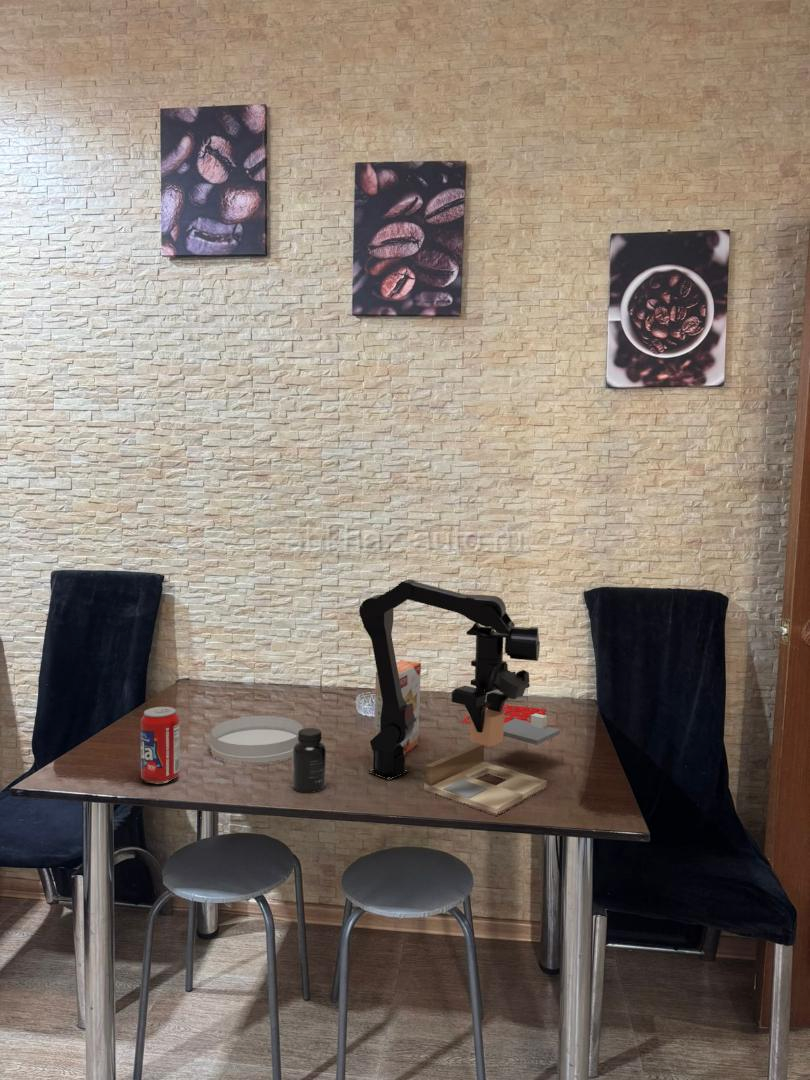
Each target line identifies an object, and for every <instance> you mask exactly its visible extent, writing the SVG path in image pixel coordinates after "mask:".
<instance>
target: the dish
mask: <svg viewBox="0 0 810 1080" xmlns="http://www.w3.org/2000/svg"><path fill="white" fill-rule="evenodd" d="M301 729H304V725H303V724H301V723H300V721H297V720H295V719H292V718H288V717H285V716H275V715H250V716H242V717H237V718H232V719H228V720H225V721H223V722H221V723H218V724H216V725H215V726H214V727H212V729H211V731H210V735H211V736H210V737H211V738H210V739H211V740H210V745H209V747H210V748H211V750H212V752H213V753H215V754H217V755H218V756H221V757H223V758H227V759H230V760H237V761H248V762H268V761H276V760H281V759H285V758H288V757H291V756H293V748H294V746H295V745H296V744H297V743H298V742H299V741H298V732H299V731H300V730H301Z"/></svg>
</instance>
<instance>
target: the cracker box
mask: <svg viewBox="0 0 810 1080" xmlns="http://www.w3.org/2000/svg"><path fill="white" fill-rule="evenodd" d="M396 664H397V669H398V675H399V681H400V686H401V692H402V697H403V699H404V700H405V702H406V704H411V703H413V713H414V716H415V718H416V721H415V722H414V728H413V730H412V731H411V733H410V734H409V735H408V736H407V737H406V738H405V739H404V741H402V742H401V743H400V744H401V746H403V747H404V754H405V753H406V752H408V751H409V750H411V749H412V748H413V747H415V746H416V745H417V744H418V745H419V729H420V725H419V724H420V703H421V702H420V700H421V698H420V697H421V678H422V677H421V675H422V674H421V671H422V669H421V668H422V663H421V662H418V661H410V660H399V661H396ZM374 685H375V691H374V720H373V721H374V726H373V738H374V737H375V736H376V735H377V734H378V733H379V732H380V717H381V710H382V696H381V691H380V685H379V679H378V674H377V671H375V684H374ZM416 747H417V746H416ZM416 747H415V748H416ZM412 750H413V749H412ZM412 750H411V751H412ZM409 752H410V751H409ZM409 752H408V753H409ZM405 755H406V754H405Z"/></svg>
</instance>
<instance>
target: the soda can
mask: <svg viewBox="0 0 810 1080" xmlns="http://www.w3.org/2000/svg"><path fill="white" fill-rule="evenodd" d="M177 713H178V712H177V710H176V708H174V707H171V706H156V707H151V708H148V709H145V710H144V711H143V716H142V717H141V718H140V779H141V778H142V779H144V780H147V781H166V780H171V779H173V778H175V777H177V776H178V775H179V776H180V771H181V770H180V765H181V764H180V761H181V760H180V753H181V752H180V751H181V750H180V716H179V715H178V714H177ZM179 776H178V777H179ZM178 777H177V778H178ZM142 779H141V780H142Z"/></svg>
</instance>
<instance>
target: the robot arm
mask: <svg viewBox="0 0 810 1080" xmlns="http://www.w3.org/2000/svg"><path fill="white" fill-rule="evenodd" d="M406 601H412V602H416V603H419V604H424V605H427V606H431V607H435V608H439V609H442V610H446V611H450V612H454V613H457V614H459V615H462V616H464V618H467V619H468V620H470V621H472V622H473V623H474V624H473V625H472V626H471V628H469V629H468V630H467V631H466V635H468V636H475V659H474V660H471V661H470V663H471V664H470V665H471V667H474V678H472V679H471V680H470V686H469V685H462V686H459V687H456V688H455V689H453V690H452V691H451V702H452V703H456V704H459V705H462V706H464V707H465V709H466V710H467V713H469V714H470V720H471V719H472V721H473V723H474V726H475V728H476V730H477V732H480V733H481V732H482V731H483V726H484V718H485V710H486V708H488V709H489V710H493V711H497V712H501V711H502V709H503V706H504V705H506V704H505V703H506V702H507V701H508V700H509V699H510V700H516V699H517V698H520V697H523V696H524V694H525V691H526V689H528V688H530V686H531V683H530V673H529V672H528V671H527V670H525V669H522V670H519V671H518V672H516V671H510V670H509V667H508V665H509V664H508V663H507V662H508V661H504V660H503V659H504V658H503V657H504V656H503V655H504V654H503V653H505V654H506V655H507V656H508V657H509V659H510V660H522V661H534V662H538V661H539V659H540V658H539V656H540V650H541V649H540V647H541V646H540V645H541V641H540V635H539V628H538V627H536V626H534V627H533V626H531V627H521V626H516V625H515V623H514V622H513V620H512V619H511V617H510V616H509V614H508V613H507V612H506V611H507V607H506V604H505V602H504V601H503V599H502V598H501V597H498V596H497V595H491V594H490V595H487V594H465V593H461V592H457V591H453V590H450V589H445V588H441V587H437V586H433V585H429V584H425V583H422V582H418V581H416V580H414V579H406V580H403V581H401V582H400V583H398V585H396V586H395V587H393V588H392V589H390V590H388V591H386V592H385V593H383V594H376V595H374V596H371V597H369V598H366V599H365V600H363V601H362V602H361V605H360V606H359V610H358V613H359V617H360V619H361V622H362V625H363V628H364V630H365V631H366V633H367V635H368V636H369V638H370V640H371V645H372V651H373V656H374V662H375V668H376V672H377V674H378V679H379V685H380V691H381V696H382V710H381V717H380V732H379V733H378V734H377V735H376V736H375V737H374V736H373V738H372V739H371V740H369V742H370V747H371V750H372V751H373V752H372V754H373V756H372V757H373V758H372V769H374V770H372V771H370V769H369V770H367V772H368V771H369V772H372V773H374V774H377V775H380V776H382V777H385V778H388V777H390V778H392V777H395V776H398V775H400V774H403V773H404V772H407V771H408V772H409V769H407V768H405V764H406V763H405V759H406V756H405V755H406V754H405V755H404V747H403V746H401V744H400V743H401V742H402V741H404V739H405V738H406V737H407V736H408V735H409V734H410V733H411V731H412V730H413V728H414V722H415V721H416V718H415V716H414V713H413V703H411V704H406V702H405V700H404V699H403V697H402V692H401V686H400V681H399V675H398V669H397V664H396V662H397V659H396V653H395V648H394V641H393V637H392V636H393V635H392V634H393V633H392V632H393V625H394V609H395V608H398V606H400V605H402V604H403V603H404V602H406ZM504 639H505V641H504ZM472 686H473V687H472ZM474 686H475V687H474ZM405 770H407V771H405ZM408 772H407V773H408ZM403 775H404V774H403ZM400 776H401V775H400ZM398 777H399V776H398ZM390 778H389V779H390Z"/></svg>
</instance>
